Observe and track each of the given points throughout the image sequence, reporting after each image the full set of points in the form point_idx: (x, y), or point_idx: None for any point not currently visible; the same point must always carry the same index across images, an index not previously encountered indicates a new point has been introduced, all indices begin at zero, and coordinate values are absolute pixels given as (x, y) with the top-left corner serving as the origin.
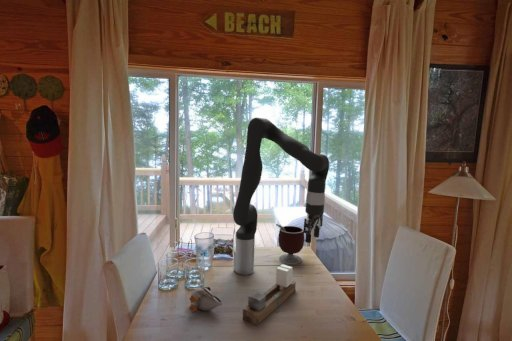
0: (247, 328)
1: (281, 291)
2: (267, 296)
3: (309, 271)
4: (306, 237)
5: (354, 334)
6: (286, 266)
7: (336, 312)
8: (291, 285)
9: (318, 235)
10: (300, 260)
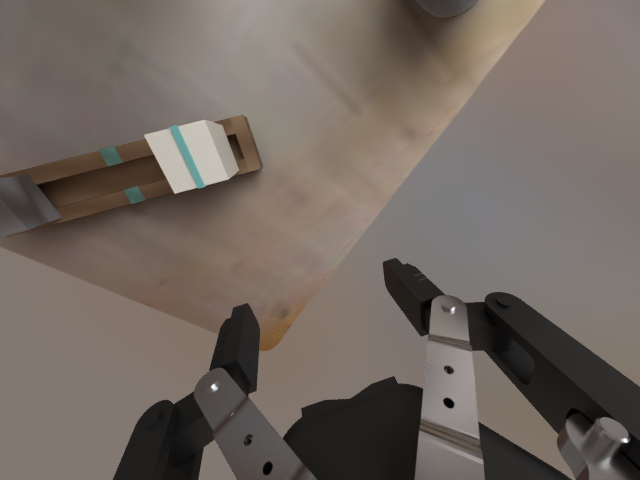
0: None
1: (169, 184)
2: (113, 165)
3: (404, 104)
4: (217, 352)
5: None
6: (206, 154)
7: (273, 288)
8: None
9: (393, 298)
10: (462, 6)
